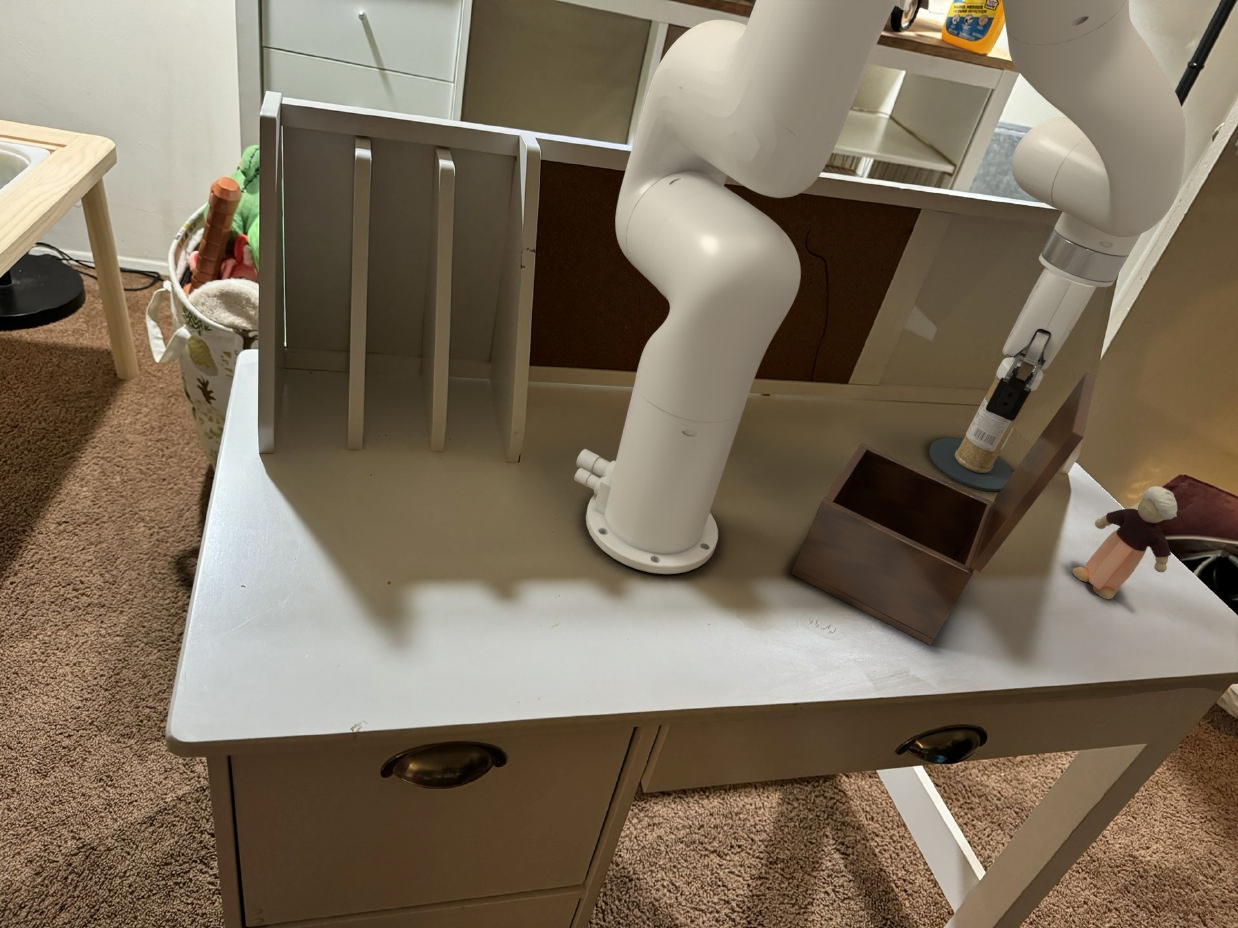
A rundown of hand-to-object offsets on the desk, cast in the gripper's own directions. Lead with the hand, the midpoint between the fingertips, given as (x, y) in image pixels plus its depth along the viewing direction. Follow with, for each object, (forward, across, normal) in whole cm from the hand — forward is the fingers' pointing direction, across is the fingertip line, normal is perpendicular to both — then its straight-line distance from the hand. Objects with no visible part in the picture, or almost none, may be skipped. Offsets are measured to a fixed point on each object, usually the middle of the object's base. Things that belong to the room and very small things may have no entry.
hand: (1006, 398), depth 98 cm
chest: (+10, +28, -4) cm, 30 cm away
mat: (+10, 0, 0) cm, 10 cm away
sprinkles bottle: (+9, 0, 0) cm, 9 cm away
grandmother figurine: (+10, +13, +16) cm, 23 cm away
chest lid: (-7, +28, +3) cm, 29 cm away
